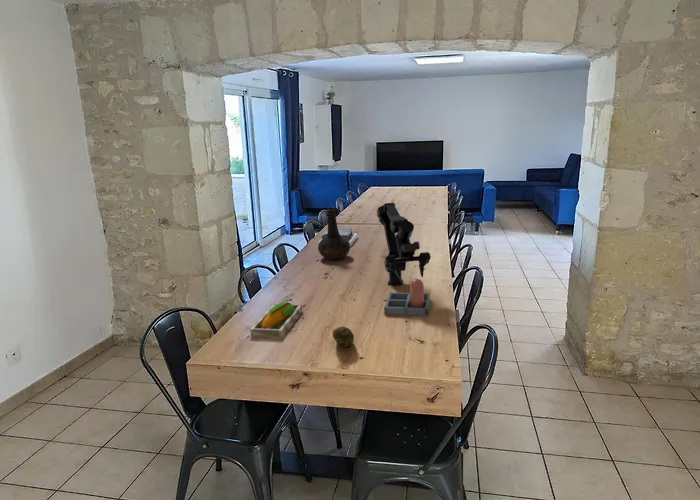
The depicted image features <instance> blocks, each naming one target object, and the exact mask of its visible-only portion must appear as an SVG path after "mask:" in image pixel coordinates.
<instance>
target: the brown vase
mask: <svg viewBox="0 0 700 500" xmlns="http://www.w3.org/2000/svg"><path fill="white" fill-rule="evenodd" d="M336 212H337V211H336V209H334V208H328V209H327V210H326V213H325V214H326V215H327V230H328V233H327V236H326V237H325V238H323V239H322V238H321V239H322V240H321V239H320V240H321V241H320V240H319V241H320V242H319V241H318V242H319V245H318V246H317V249H318V252H319V255H321V257H323V258H324V259H325V260H329V261H335V260H336V261H337V260H341V259H344V258H345V257H346V256H347V255H348V254H349V253H350V250H351V249H350V248H351V247H350V243H349V241H348V240H347V239H346V238H344V237H342V236H341V235H340V234H339V231H338V224H337V217H336Z"/></svg>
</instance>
